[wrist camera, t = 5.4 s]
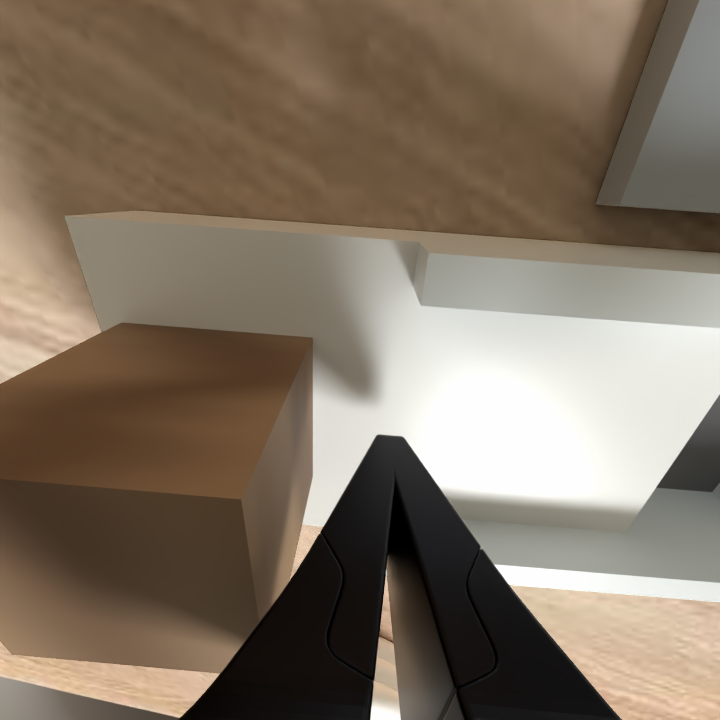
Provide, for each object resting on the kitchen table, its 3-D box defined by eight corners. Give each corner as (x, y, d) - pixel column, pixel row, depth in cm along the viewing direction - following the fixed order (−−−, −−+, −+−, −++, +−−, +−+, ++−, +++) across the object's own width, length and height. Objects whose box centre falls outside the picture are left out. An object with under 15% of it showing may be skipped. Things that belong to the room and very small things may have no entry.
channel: (913, 266, 9) (1245, 313, 6) (716, 504, 14) (833, 611, 10) (136, 210, 10) (-5, 221, 6) (194, 462, 14) (133, 553, 11)
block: (312, 337, 8) (241, 498, 4) (313, 476, 11) (267, 677, 6) (121, 322, 8) (-160, 464, 4) (162, 463, 11) (12, 654, 6)
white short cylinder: (260, 617, 20) (240, 694, 17) (420, 627, 20) (428, 707, 17) (276, 686, 25) (262, 756, 22) (406, 695, 25) (411, 767, 22)
